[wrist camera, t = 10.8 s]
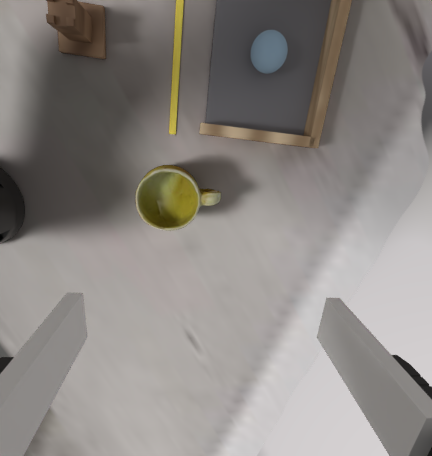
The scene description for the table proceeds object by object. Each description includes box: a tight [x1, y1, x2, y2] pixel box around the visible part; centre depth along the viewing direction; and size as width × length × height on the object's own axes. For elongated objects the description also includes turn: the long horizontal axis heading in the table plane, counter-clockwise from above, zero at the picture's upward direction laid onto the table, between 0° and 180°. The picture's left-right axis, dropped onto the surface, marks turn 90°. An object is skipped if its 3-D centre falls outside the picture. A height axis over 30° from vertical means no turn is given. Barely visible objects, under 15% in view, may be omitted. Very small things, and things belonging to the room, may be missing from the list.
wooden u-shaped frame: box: [199, 0, 352, 148], centre depth 37 cm, size 18×23×4 cm
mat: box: [205, 0, 331, 136], centre depth 38 cm, size 16×20×1 cm
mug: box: [136, 165, 221, 231], centre depth 40 cm, size 12×10×10 cm
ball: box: [251, 30, 288, 74], centre depth 36 cm, size 5×5×5 cm
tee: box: [46, 0, 106, 59], centre depth 33 cm, size 6×6×6 cm
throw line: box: [169, 0, 184, 135], centre depth 37 cm, size 1×24×1 cm, turn 173°
